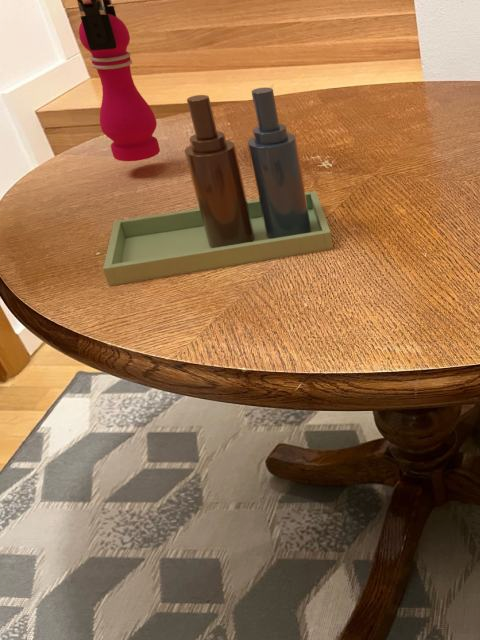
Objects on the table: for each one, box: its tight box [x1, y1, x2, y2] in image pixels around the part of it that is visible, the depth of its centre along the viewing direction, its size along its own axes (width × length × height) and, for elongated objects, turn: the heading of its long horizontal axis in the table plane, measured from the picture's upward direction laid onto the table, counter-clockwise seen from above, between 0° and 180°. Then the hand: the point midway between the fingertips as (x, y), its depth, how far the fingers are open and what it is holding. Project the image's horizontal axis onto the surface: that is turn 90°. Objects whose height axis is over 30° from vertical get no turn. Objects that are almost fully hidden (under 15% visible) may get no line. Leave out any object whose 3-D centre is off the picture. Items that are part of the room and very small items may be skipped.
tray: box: [102, 190, 334, 287], centre depth 83 cm, size 24×13×2 cm, turn 107°
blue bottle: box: [246, 87, 311, 239], centre depth 81 cm, size 5×5×16 cm
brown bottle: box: [184, 94, 255, 248], centre depth 80 cm, size 5×5×16 cm
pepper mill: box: [78, 14, 161, 162], centre depth 99 cm, size 7×7×20 cm
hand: (106, 42), depth 96 cm, fingers closed on pepper mill, 6 cm apart
